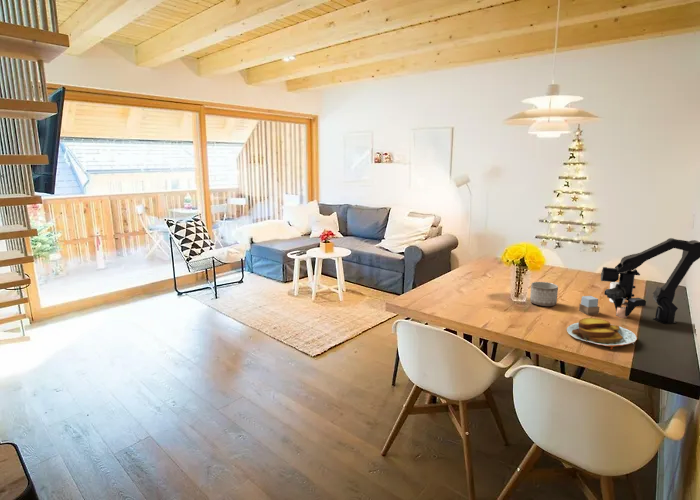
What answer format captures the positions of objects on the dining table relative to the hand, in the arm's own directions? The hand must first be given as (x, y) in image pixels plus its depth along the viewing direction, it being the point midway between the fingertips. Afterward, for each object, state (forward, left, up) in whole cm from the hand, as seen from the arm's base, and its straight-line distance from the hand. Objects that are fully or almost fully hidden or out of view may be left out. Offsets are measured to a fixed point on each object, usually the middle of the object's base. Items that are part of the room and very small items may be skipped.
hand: (622, 314), depth 190 cm
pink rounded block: (0, 0, -1) cm, 1 cm away
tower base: (+7, +12, -1) cm, 14 cm away
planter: (+23, +26, -1) cm, 35 cm away
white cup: (+19, -14, -1) cm, 24 cm away
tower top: (+7, +12, +3) cm, 14 cm away
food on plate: (-20, +28, -2) cm, 35 cm away
